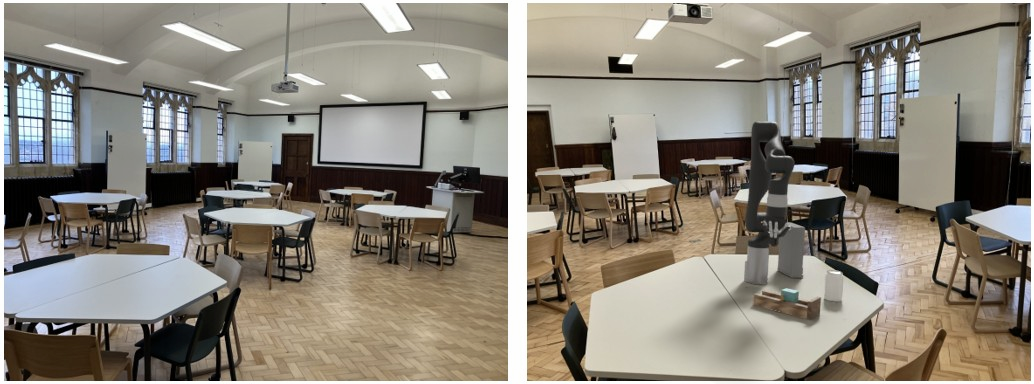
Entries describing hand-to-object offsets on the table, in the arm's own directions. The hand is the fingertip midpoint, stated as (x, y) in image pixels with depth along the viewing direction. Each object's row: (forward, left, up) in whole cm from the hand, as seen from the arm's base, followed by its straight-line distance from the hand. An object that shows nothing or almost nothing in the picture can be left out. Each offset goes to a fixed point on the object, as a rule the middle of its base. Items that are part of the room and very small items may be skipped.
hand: (774, 246), depth 214 cm
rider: (+9, -5, -21) cm, 23 cm away
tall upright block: (-14, +49, -24) cm, 57 cm away
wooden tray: (+8, -5, -24) cm, 26 cm away
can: (+15, +23, -24) cm, 37 cm away
